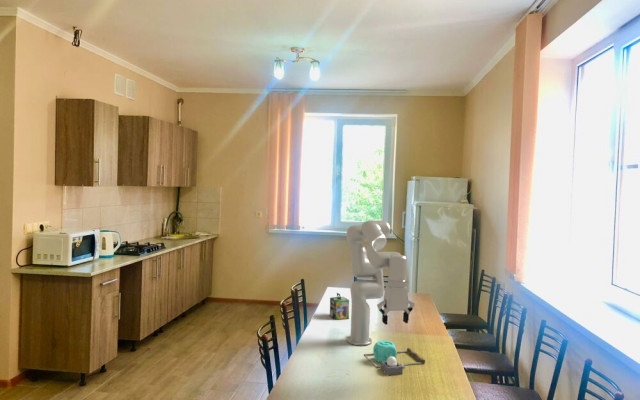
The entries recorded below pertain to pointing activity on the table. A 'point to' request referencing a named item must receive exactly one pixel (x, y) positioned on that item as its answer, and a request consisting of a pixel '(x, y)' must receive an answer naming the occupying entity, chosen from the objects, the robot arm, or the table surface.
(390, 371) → the collar
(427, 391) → the table surface
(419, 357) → the lane
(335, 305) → the chalk box
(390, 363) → the white ball
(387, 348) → the decorative dice
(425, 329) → the table surface
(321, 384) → the table surface
